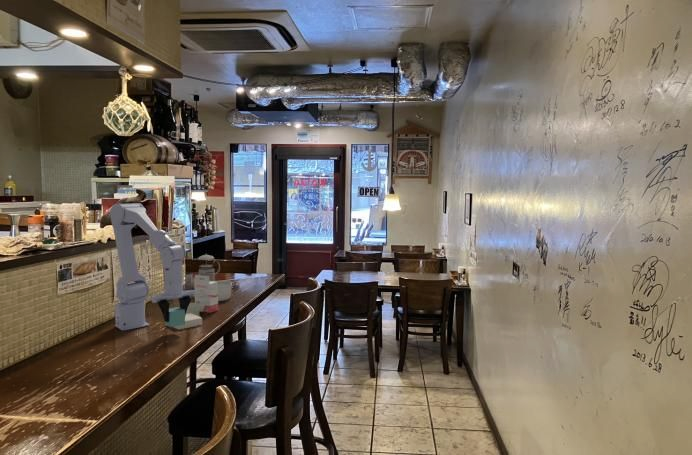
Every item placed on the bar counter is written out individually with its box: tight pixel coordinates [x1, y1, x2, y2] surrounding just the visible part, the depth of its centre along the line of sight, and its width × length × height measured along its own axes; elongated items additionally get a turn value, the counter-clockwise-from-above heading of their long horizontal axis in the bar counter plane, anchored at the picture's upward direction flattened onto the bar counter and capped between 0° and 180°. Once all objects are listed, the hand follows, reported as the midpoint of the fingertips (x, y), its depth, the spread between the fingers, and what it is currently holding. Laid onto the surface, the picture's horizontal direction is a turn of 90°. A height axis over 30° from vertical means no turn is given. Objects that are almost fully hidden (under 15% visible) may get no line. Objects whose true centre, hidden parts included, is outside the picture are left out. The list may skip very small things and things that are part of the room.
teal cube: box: [164, 306, 185, 328], centre depth 162 cm, size 5×5×5 cm
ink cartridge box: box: [193, 274, 219, 314], centre depth 192 cm, size 9×5×15 cm, turn 62°
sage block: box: [186, 302, 200, 317], centre depth 185 cm, size 4×4×4 cm
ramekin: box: [211, 280, 233, 302], centre depth 213 cm, size 13×13×7 cm
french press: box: [197, 235, 221, 281], centre depth 244 cm, size 10×12×25 cm
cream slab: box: [173, 313, 203, 331], centre depth 173 cm, size 9×9×3 cm
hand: (174, 319), depth 162 cm, fingers closed on teal cube, 5 cm apart
